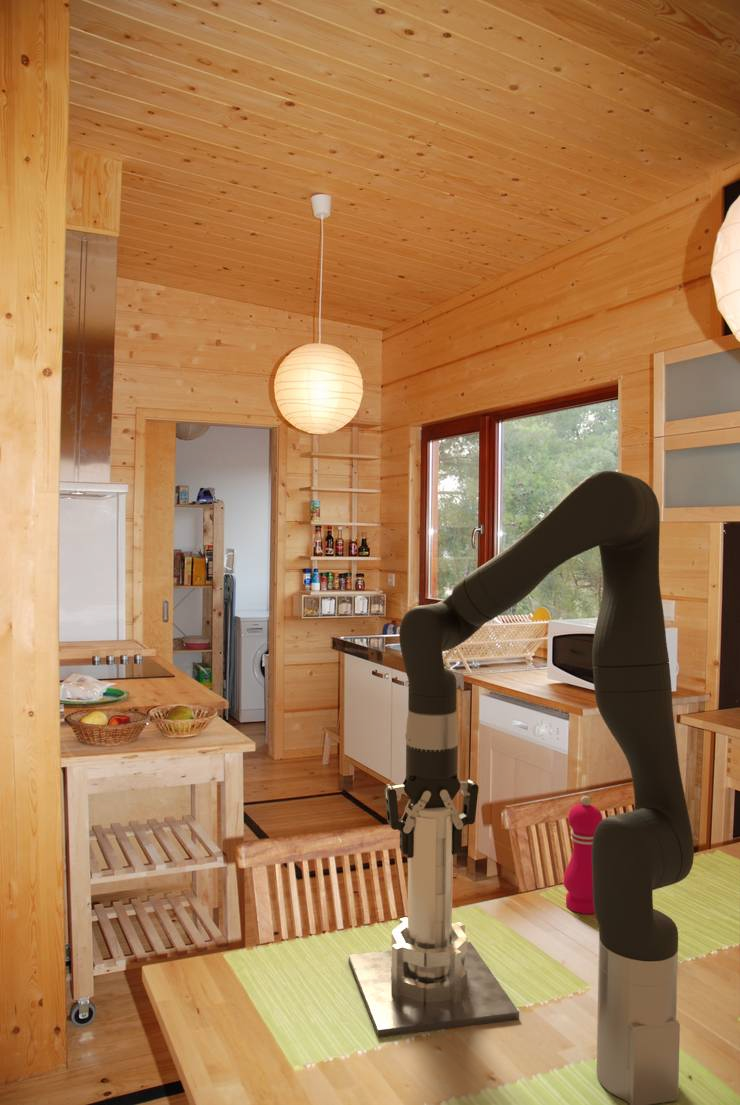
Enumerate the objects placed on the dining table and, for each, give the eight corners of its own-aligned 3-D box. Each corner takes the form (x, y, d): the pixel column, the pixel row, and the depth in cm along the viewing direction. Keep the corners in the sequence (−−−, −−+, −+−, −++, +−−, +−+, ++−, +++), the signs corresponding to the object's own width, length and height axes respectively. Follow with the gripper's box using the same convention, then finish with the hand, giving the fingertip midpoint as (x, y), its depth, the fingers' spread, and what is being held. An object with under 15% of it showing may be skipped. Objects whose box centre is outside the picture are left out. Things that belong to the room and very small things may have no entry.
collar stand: (519, 1019, 117) (519, 962, 117) (378, 1037, 112) (378, 978, 112) (470, 948, 136) (470, 899, 136) (348, 961, 132) (349, 910, 132)
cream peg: (451, 962, 127) (453, 798, 126) (451, 986, 121) (453, 812, 120) (408, 960, 128) (409, 796, 127) (405, 983, 121) (407, 810, 121)
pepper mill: (555, 900, 154) (557, 791, 153) (590, 895, 156) (592, 788, 155) (576, 918, 147) (578, 804, 146) (612, 912, 149) (615, 800, 149)
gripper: (390, 750, 118) (389, 868, 118) (487, 745, 121) (486, 860, 122) (377, 737, 125) (377, 848, 126) (470, 732, 128) (468, 841, 129)
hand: (430, 853), depth 124 cm, fingers closed on cream peg, 6 cm apart
